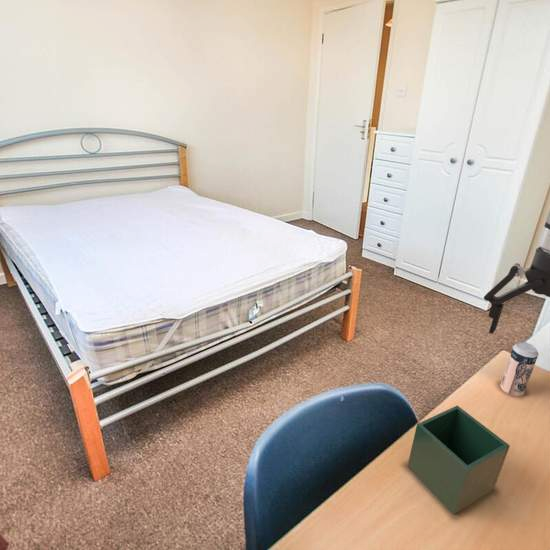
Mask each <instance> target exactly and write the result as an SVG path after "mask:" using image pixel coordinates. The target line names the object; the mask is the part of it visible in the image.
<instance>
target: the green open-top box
mask: <svg viewBox="0 0 550 550" xmlns="http://www.w3.org/2000/svg"><path fill="white" fill-rule="evenodd" d="M414 431H415V432H414V436H413V439H412V445H411V448H410V452H409V457H408V462H407V467H408V469H409V470H410V471H411V472H412V473H413V474H414V475H415V476H416V477H417V478H418V479H419V480H420V482H421V483H423V484H424V486H425V487H426V488H427V489H428V490H429V491H430V492H431V493H432V494H433V495H434V496H435V497H436V498H437V499H438V500H439V501H440V502H441V503H442V505H444V507H445V508H446V509H447V510H448V511H449V512H450V513H451V514H452V515H456V514H457V513H459V512H460V511H462V510H464V509H465V508H467V507H468V506H470V505H471V504H473V503H474V502H476V501H477V500H479V499H481V498H482V497H484V496H485V495H487V494H489V493H490V492H492V491H493V490H494V489H495V487H496V484H497V482H498V479H499V476H500V475H501V470H502V469H503V465H504V463H505V460H506V457H507V455H508V453H509V449H510V447H511V445H510V444H509V443H507V442H506V441H504V439H502V438H501V437H500V436H498V435H497V434H495V433H494V432H493V431H492V430H491V429H489V428H488V427H486V426H485V425H483V424H482V423H481V422H480V421H479V420H477V419H476V418H475V417H473V416H472V415H471V414H469V413H468V412H467V411H466V410H465V409H464V408H461V406H459V405H454V406H453V407H450V408H448V409H445V410H444V411H442V412H440V413H438V414H436V415H432V416H431V417H429V418H426V419H424V420H422V421H419V422H418V423H417V424H416V428H415V430H414Z"/></svg>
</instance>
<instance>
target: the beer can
mask: <svg viewBox="0 0 550 550" xmlns="http://www.w3.org/2000/svg"><path fill="white" fill-rule="evenodd" d="M538 357H539V351H538V348H537V347H536V346H535V345H534V344H531V343H529V342H524V341H519V342H516V343H515V344H514V345H512V349H511V351H510V354H509V358H508V361H507V364H506V367H505V370H504V373H503V376H502V379H501V382H500V388H501V389H502V390H503V392H505V393H506V394H508V395H510V396H513V397H514V396H515V397H521V396H524V395H525V393H526V390H527V387H528V384H529V382H530V378H531V376H532V374H533V370H534V368H535V365H536V363H537V360H538Z"/></svg>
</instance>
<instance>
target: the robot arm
mask: <svg viewBox="0 0 550 550" xmlns="http://www.w3.org/2000/svg"><path fill="white" fill-rule="evenodd" d="M537 244H538V246H539V247H537V248H536V249H535V252H534V255H533V258H532V261H531V264H530V266H529V267H528V268H526V267H525V266H522V265H521V264H520V263H517V262H516V263H514V264H513V265H512V266H511V267H510V269H509V271H508V273H507V274H506V276H504V277H503V278H502V279H501V280H500V281H499V282H498V283H496V284H495V286H493V288H491V289H490V290H489V291H488V292H487V293H486V294H485V295H484V296H483V299H484V301H487V302H488V303H490V304H491V305H490V308H489V309H490V310H489V312H488V318H491V319H492V321H491V324H490V328H489V331H488V334H491V335H493V334H494V333H495V331H496V330H497V327H498V324H499V322H500V321H499V320H500V318H501V314H502V312H503V308H504V303H505V302H507V301H510V300H512V299H514V298H515V297H518V296H520V295H522V294H525V293H527V292H529V291H532V292H534V294H537V295H543V296H545V297H547V298H550V209H549V210H548V213H547V217H546V220H545V223H544V225H543V229H542V231H541V234H540V237H539V240H538V242H537ZM521 275H524V276H525V278H526V280H527V281H525V282H524V283H522V284H520V285H518V286H516V287H514V288H512V289H510V290H509V291H507V292H505V293H502V294H501V295H498V296H496V295H497V294H498V293H499V292H500V291H502V289H503V288H505V287H506V286H507V285H508V284H509V283H510V282H512V281H513V279H514V278H515V277H517V278H519V277H520V276H521Z"/></svg>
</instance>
